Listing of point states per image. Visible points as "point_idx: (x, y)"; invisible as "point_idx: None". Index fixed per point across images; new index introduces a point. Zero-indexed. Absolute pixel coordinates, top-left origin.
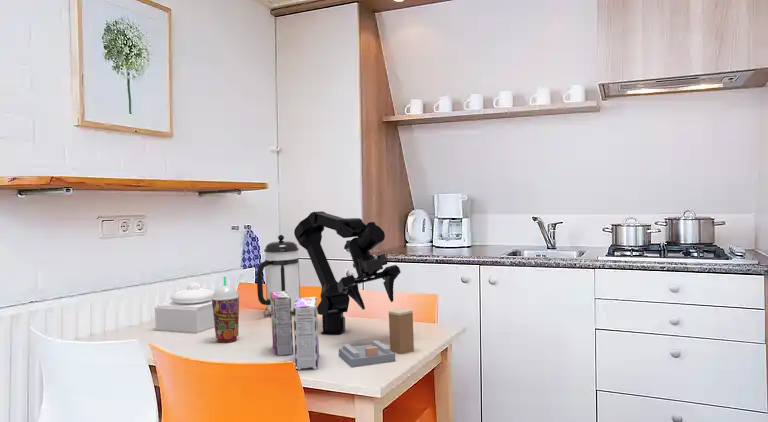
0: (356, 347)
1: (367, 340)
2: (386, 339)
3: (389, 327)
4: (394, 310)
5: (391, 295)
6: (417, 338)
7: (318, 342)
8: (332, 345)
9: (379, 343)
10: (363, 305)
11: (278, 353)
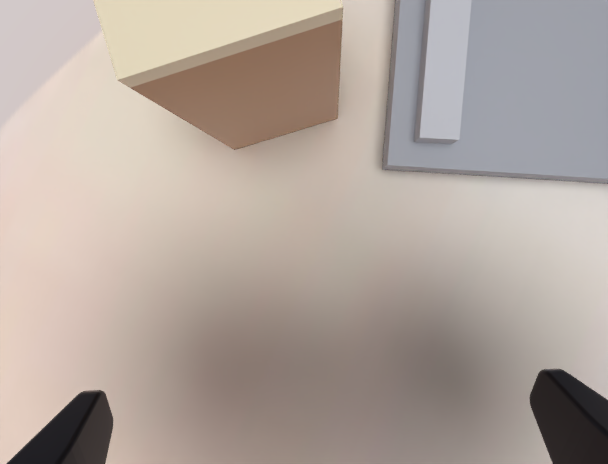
0: (572, 145)
1: (351, 434)
2: (238, 391)
3: (339, 70)
4: (254, 14)
5: (50, 455)
6: (66, 309)
7: None
8: None
9: (446, 42)
10: (583, 395)
11: None
